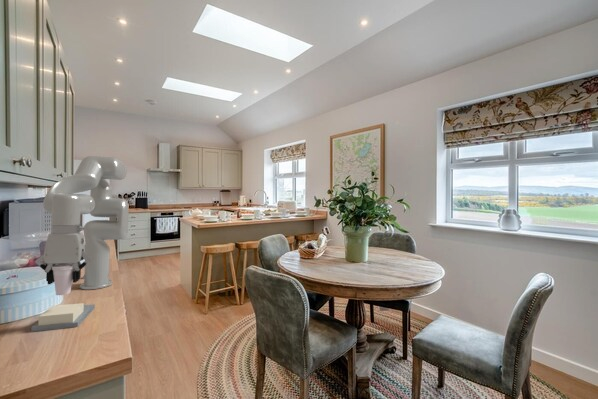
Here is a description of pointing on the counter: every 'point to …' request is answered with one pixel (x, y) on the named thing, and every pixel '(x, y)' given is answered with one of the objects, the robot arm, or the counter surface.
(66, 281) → the smoothie
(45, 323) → the base board
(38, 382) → the counter surface
